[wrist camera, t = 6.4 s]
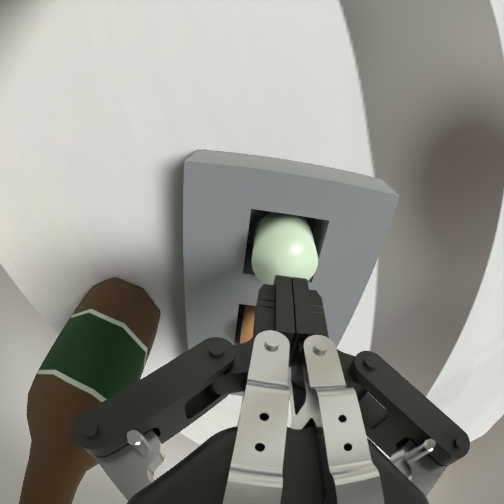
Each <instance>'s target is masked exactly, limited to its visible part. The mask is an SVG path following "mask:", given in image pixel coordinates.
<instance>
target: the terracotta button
mask: <svg viewBox="0 0 504 504" xmlns="http://www.w3.org/2000/svg"><path fill="white" fill-rule="evenodd" d="M255 309H256V306H252V305H246V307H245V309H244V312H243V320H242V328H241V336H240V344H241V343H245V342H247V341H249V340H250V339H252V337H253V327H254V315H255Z"/></svg>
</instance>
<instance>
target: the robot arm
mask: <svg viewBox="0 0 504 504" xmlns="http://www.w3.org/2000/svg"><path fill="white" fill-rule="evenodd" d="M288 367H291V375H290V378H289V381H288V383H289V387H287V379H288ZM243 391H244V394H243V399H242V405H241V410H240V415H239V419H238V424H237V427H232V428H228V429H225V430H223V431H220V432H218V433H216V434H215V435H213V436H212V437H210V438H209V439H208V440H207V441H205V442H204V443H203V444H202V445H201V446H199V447H198V448H197V449H196V450H194V451H193V452H192V453H191V454H189V455H188V456H187V457H186V458H184V459H183V460H182V461H180V462H179V463H178V464H177V465H175V466H174V467H173V468H171V469H170V470H169V471H167V472H166V473H164V474H163V475H162V476H160V477H159V478H157V479H156V480H155V481H154V480H153V475H154V472H155V470H156V468H157V467H158V466H159V465H160V464H161V463H162V462H163V460H164V458H165V451H164V448H163V446H162V444H163V443H164V442H165V441H167V440H168V439H170V438H171V437H173V436H174V435H175V434H177V433H179V432H180V431H181V430H183V429H184V428H186V427H187V426H188V425H190V424H191V423H193V422H194V421H195V420H197V419H198V418H199V417H201V416H202V415H203V414H205V413H206V412H207V411H209V410H210V409H211V408H213V407H214V406H215V405H216V404H218V403H219V402H220V401H222V400H223V399H224V398H225V397H227V396H228V394H231V393H237V392H243ZM367 392H369V393H370V394H371V395H372V396H373V397H374V398H375V399H376V400H377V401H378V402H379V403H380V404H381V405H382V406H384V407H385V408H386V409H387V410H386V409H385V408H383V407H382V406H381V405H380V404H379V403H378V402H377V401H376V400H375V399H374V398H372V396H371V395H369V394H368V393H367ZM289 394H290V403H291V413H292V422H291V427H290V428H289V427H287V419H288V407H289ZM72 435H73V437H74V439H75V441H76V442H77V443H78V444H79V445H80V446H82V447H83V448H84V449H85V450H86V451H87V452H88V453H89V454H90V455H92V456H93V457H94V458H96V460H97V461H98V463H99V464H100V465H101V467H102V468H103V470H104V471H105V472H106V474H107V475H108V476H109V478H110V479H111V480H112V482H113V483H114V484H115V485H116V487H117V488H118V489H119V490H120V492H121V493H122V494H123V495H124V496H125V498H126V499H127V500H128V503H127V504H429V502H428V500H427V497H426V496H427V495H428V493H429V492H430V491H431V489H432V488H433V486H434V485H435V484H436V482H437V481H438V479H439V478H440V476H441V475H442V473H443V472H444V470H445V469H446V467H447V466H448V465H450V464H452V463H454V462H455V461H457V460H459V459H460V458H462V457H464V456H465V455H466V454H467V452H468V450H469V446H470V441H469V437H468V435H467V434H466V433H465V432H464V431H463V430H462V429H461V428H460V427H459V426H458V425H456V424H455V423H454V422H453V421H452V420H451V419H450V418H449V417H448V416H446V415H445V414H444V413H443V412H442V411H441V410H440V409H439V408H437V407H436V406H435V405H434V404H433V403H432V402H431V401H430V400H428V399H427V398H426V397H425V396H424V395H423V394H422V393H420V392H419V391H418V390H417V389H416V388H415V387H414V386H412V385H411V384H410V383H409V382H408V381H407V380H406V379H405V378H403V377H402V376H401V375H400V374H399V373H398V372H397V371H395V370H394V369H393V368H392V367H391V366H390V365H389V364H388V363H386V362H385V361H384V360H383V359H382V358H381V357H380V356H378V355H377V354H375V353H373V352H370V351H362V352H360V353H358V354H357V355H356V357H355V356H352V355H349V354H346V353H343V352H341V351H339V350H338V349H336V346H335V344H334V343H333V341H332V340H330V339H329V336H328V330H327V324H326V318H325V314H324V308H323V302H322V298H321V296H320V295H319V294H318V292H317V291H316V290H309V287H308V281H307V279H306V278H298V277H290V276H282V275H275V279H274V283H273V285H268V284H263V285H262V287H261V288H260V289H259V292H258V297H257V303H256V309H255V315H254V327H253V337H252V339H250V340H249V341H247V342H245V343H241V344H234V345H232V343H231V342H229V341H228V340H226V339H224V338H220V337H211V338H207V339H205V340H203V341H202V342H200V343H199V344H197V345H196V346H194V347H193V348H191V349H189V350H188V351H186V352H185V353H183V354H182V355H180V356H178V357H177V358H175V359H174V360H172V361H170V362H169V363H167V364H166V365H164V366H162V367H161V368H159V369H157V370H156V371H154V372H152V373H151V374H149V375H148V376H146V377H144V378H143V379H141V380H139V381H138V382H136V383H134V384H132V385H131V386H129V387H127V388H126V389H124V390H122V391H120V392H119V393H117V394H115V395H114V396H112V397H110V398H108V399H107V400H105V401H103V402H101V403H99V404H98V405H96V406H94V407H92V408H90V409H89V410H87V411H85V412H83V413H81V414H80V415H78V416H77V417H76V418H75V420H74V421H73V424H72ZM366 435H367V436H368V437H369V438H370V439H371V440H372V441H373V442H374V443H375V444H376V445H377V446H378V447H379V448H381V449H382V450H383V451H384V452H385V453H386V454H387V455H388V456H389V457H390V458H391V459H390V460H389V459H388V458H387V457H386V456H385V455H384V454H383V453H382V452H381V451H380V450H379V449H378V448H377V447H376V446H375V445H374V444H373V443H372V442H371V441H370V440H369V439H368V438H367V437H366Z"/></svg>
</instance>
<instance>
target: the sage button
mask: <svg viewBox="0 0 504 504" xmlns="http://www.w3.org/2000/svg"><path fill="white" fill-rule="evenodd" d="M317 266H318V256H317V251H316V247H315V243H314V239H313V235H312V231H311V228H310V225H309V223H308V222H307V220H306V219H305V218H304V217H303V216H297V215H291V214H284V213H277V212H271V213H269V214H267V215H265V216H264V217H263V218H262V219H261V220H260V221H259V223H258V224H257V226H256V229H255V235H254V244H253V252H252V268H253V271H254V273H255V275H256V276H257V278H258V279H259V280H260V281H262V282H263V283H264V284H268V285H273V283H274V279H275V275H282V276H290V277H298V278H306V279H307V281H308V280H309V279H310V278H311V277H312V276H313V275H314V273H315V271H316V269H317Z"/></svg>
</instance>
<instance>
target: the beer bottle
mask: <svg viewBox="0 0 504 504" xmlns="http://www.w3.org/2000/svg"><path fill="white" fill-rule="evenodd" d="M159 318H160V310H159V309H158V308H157V306H156V305H155V304H154V302H153V301H152V300H151V299H150V297H149V296H148V295H147V293H146V292H145V291H144V289H143V288H140V287H138V286H135V285H133V284H130V283H128V282H126V281H123V280H121V279H118V278H116V277H114V278H112V279H109V280H107V281H105V282H102V283H100V284H97V285H95V286H93V287H92V288H91V290H90V291H89V292H88V293H87V294H86V296H85V297H84V298H83V300H82V301H81V303H80V304H79V305H78V307H77V308H76V310H75V311H74V313H73V314H72V316H71V317H70V319H69V320H68V322H67V324H66V325H65V327H64V328H63V330H62V331H61V333H60V335H59V336H58V338H57V339H56V341H55V343H54V345H53V346H52V348H51V349H50V351H49V353H48V354H47V356H46V358H45V360H44V361H43V363H42V365H41V367H40V368H39V370H38V372H37V374H36V376H35V379H34V381H33V383H32V386H31V388H30V391H29V393H28V402H27V419H28V425H29V430H30V435H31V439H32V442H31V449H30V455H29V461H28V465H27V469H26V473H25V477H24V481H23V486H22V491H21V496H20V502H19V504H72V501H73V498H74V495H75V492H76V490H77V487H78V485H79V483H80V481H81V480H82V478H83V476H84V474H85V472H86V471H87V470H89V469H91V468H92V467H94V466H95V465H97V464H99V463H98V461H97V460H96V458H94V457H93V456H92V455H90V454H89V453H88V452H87V451H86V450H85V449H84V448H83V447H82V446H80V445H79V444H78V443H77V442H76V441H75V439H74V437H73V435H72V424H73V421H74V420H75V418H76V417H77V416H78V415H80V414H81V413H83V412H85V411H87V410H89V409H90V408H92V407H94V406H96V405H98V404H99V403H101V402H103V401H105V400H107V399H108V398H110V397H112V396H114V395H115V394H117V393H119V392H120V391H122V390H124V389H126V388H127V387H129V386H131V385H132V384H134V383H136V382H138V381H139V380H140V378H141V375H142V372H143V369H144V367H145V364H146V361H147V359H148V356H149V353H150V351H151V348H152V345H153V342H154V339H155V336H156V332H157V328H158V323H159Z"/></svg>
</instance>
